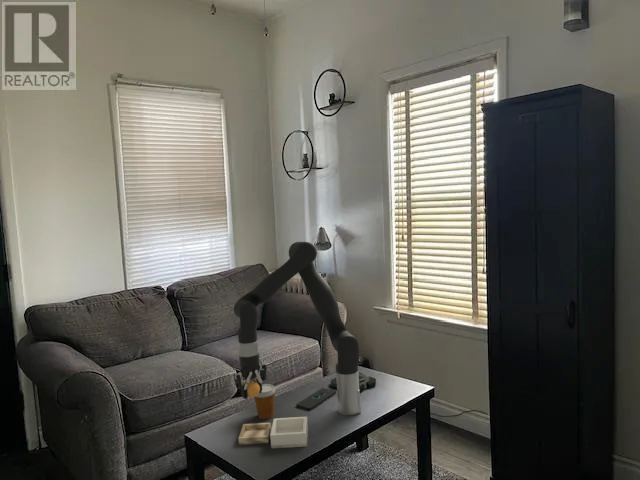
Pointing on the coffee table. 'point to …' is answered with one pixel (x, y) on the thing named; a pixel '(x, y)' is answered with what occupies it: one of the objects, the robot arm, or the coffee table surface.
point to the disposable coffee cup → (265, 402)
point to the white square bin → (289, 432)
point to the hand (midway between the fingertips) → (252, 395)
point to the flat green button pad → (363, 381)
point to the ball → (253, 389)
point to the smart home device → (316, 399)
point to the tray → (255, 433)
